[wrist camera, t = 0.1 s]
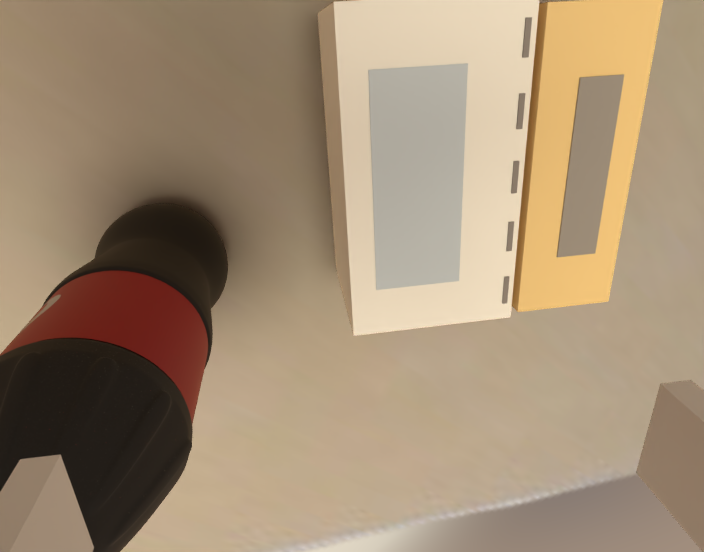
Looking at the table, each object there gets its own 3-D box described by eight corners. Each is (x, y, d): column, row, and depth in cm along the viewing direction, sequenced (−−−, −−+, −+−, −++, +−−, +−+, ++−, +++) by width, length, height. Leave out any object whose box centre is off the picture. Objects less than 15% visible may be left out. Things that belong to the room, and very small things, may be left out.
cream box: (317, 13, 32) (333, 1, 23) (468, 5, 33) (541, -10, 24) (336, 269, 40) (353, 336, 31) (458, 256, 41) (511, 317, 32)
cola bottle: (87, 254, 37) (-435, 839, 10) (158, 169, 35) (-238, 595, 8) (184, 320, 40) (-5, 896, 13) (254, 244, 38) (204, 731, 11)
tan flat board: (536, 4, 25) (549, 2, 24) (647, -3, 26) (665, -5, 25) (509, 303, 33) (518, 312, 31) (597, 292, 33) (609, 302, 32)
